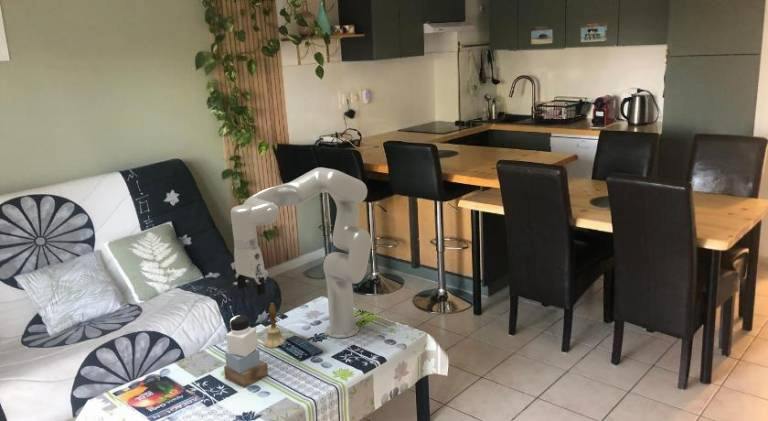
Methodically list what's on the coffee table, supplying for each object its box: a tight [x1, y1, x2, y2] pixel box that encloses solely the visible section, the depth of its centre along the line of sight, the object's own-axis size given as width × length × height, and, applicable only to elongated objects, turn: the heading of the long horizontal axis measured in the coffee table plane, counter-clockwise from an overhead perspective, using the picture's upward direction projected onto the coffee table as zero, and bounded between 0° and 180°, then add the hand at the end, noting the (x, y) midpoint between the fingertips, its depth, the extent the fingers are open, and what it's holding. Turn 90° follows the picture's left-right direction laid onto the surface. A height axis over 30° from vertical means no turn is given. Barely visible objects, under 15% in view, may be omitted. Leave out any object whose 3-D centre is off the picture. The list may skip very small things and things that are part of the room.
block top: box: [224, 349, 261, 373], centre depth 219 cm, size 8×8×5 cm
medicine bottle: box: [225, 314, 259, 357], centre depth 217 cm, size 7×7×12 cm
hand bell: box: [263, 302, 286, 349], centre depth 243 cm, size 8×8×16 cm
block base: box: [223, 359, 269, 389], centre depth 221 cm, size 10×10×5 cm
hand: (251, 291), depth 220 cm, fingers open, 9 cm apart
